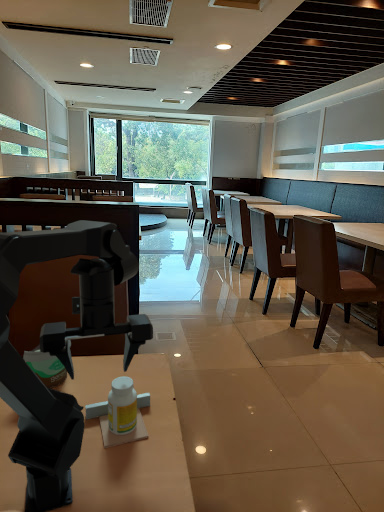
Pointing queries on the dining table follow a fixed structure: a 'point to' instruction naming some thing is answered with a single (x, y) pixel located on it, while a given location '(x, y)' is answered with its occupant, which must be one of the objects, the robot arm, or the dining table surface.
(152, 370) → the dining table surface
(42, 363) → the food container
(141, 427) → the mat
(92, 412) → the low wall
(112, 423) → the supplement bottle
